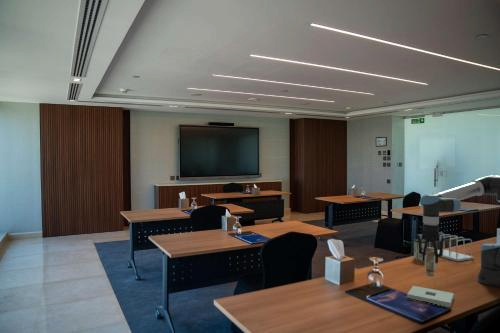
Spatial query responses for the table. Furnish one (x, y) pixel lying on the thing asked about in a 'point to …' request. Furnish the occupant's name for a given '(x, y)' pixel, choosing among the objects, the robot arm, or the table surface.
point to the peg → (430, 261)
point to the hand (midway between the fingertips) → (430, 268)
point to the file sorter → (455, 255)
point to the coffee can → (416, 249)
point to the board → (431, 296)
